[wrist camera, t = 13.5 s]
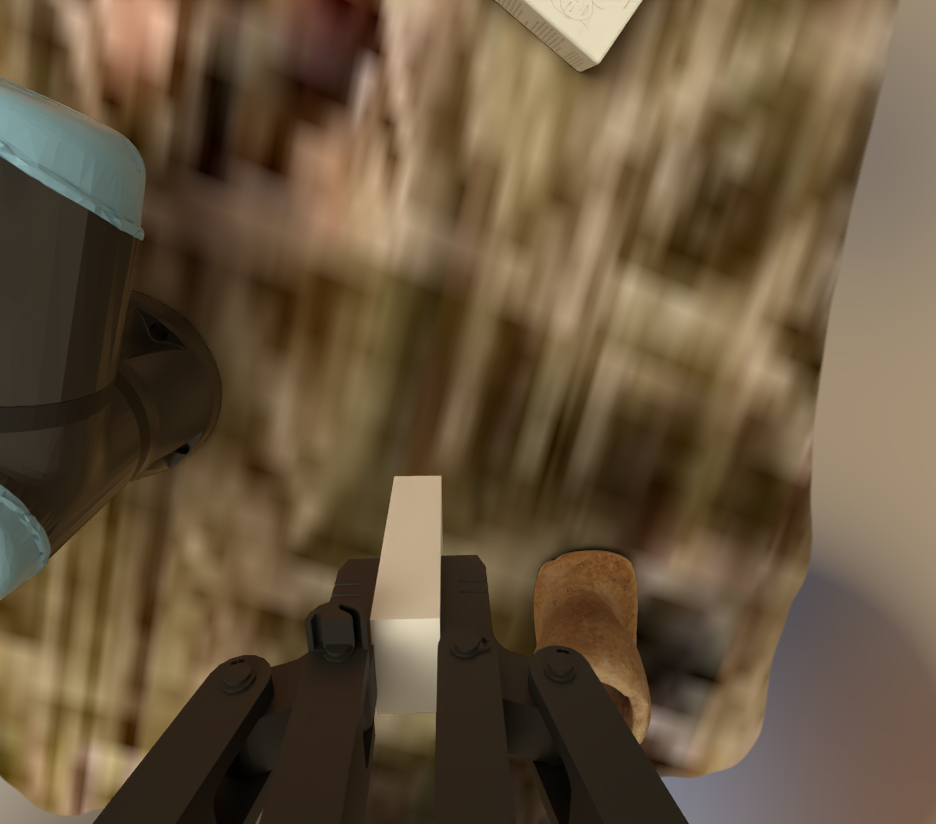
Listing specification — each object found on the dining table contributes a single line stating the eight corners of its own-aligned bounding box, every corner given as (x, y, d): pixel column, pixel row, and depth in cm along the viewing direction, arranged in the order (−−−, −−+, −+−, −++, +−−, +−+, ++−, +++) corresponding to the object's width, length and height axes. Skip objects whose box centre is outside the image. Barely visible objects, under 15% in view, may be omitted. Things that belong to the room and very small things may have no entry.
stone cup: (510, 547, 55) (532, 672, 41) (636, 539, 55) (702, 661, 41) (513, 671, 60) (534, 819, 46) (628, 663, 60) (683, 808, 46)
